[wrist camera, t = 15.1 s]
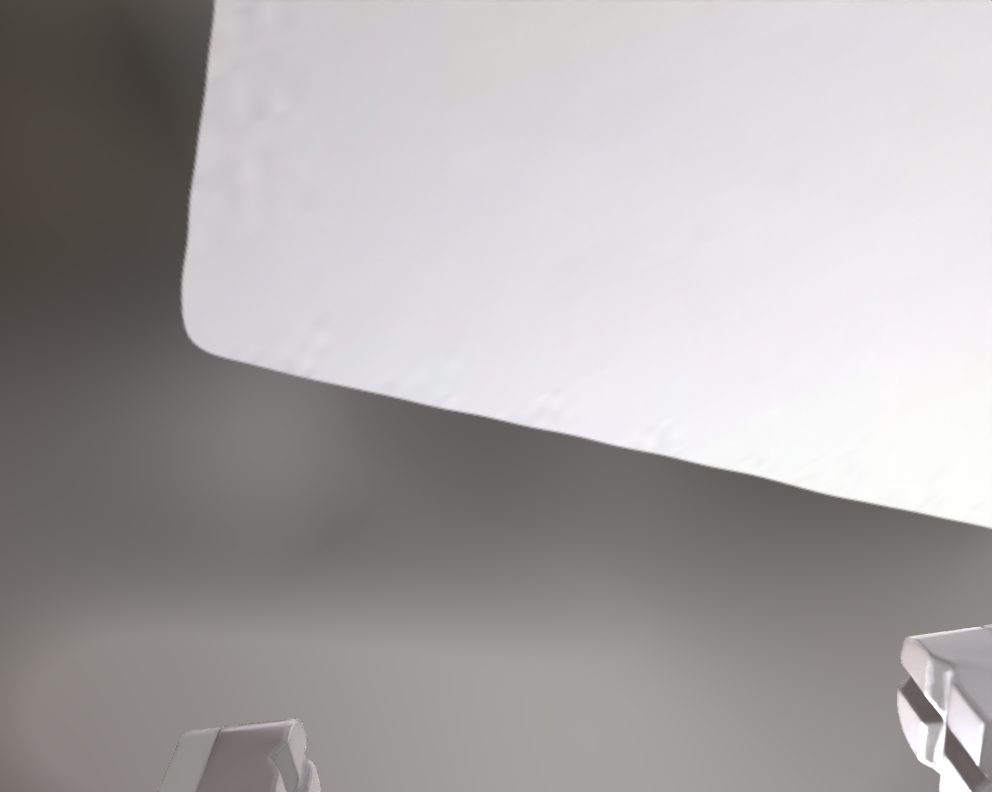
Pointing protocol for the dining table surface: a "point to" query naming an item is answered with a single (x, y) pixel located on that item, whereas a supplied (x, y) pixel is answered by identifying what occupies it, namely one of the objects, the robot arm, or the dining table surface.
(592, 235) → the dining table surface
